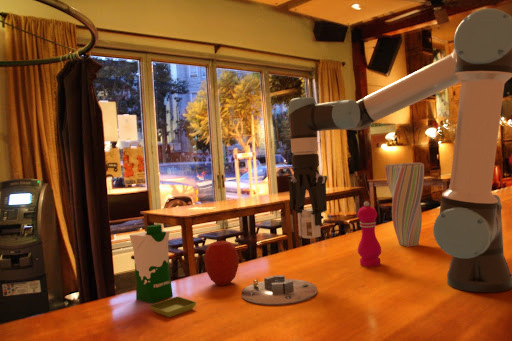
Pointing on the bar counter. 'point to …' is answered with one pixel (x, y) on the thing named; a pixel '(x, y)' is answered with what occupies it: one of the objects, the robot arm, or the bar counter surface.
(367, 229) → the pepper mill
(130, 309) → the bar counter surface
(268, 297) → the flange plate
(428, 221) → the bar counter surface
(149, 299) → the milk carton
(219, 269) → the apple
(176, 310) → the olive square tray
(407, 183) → the vase
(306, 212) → the pill bottle
